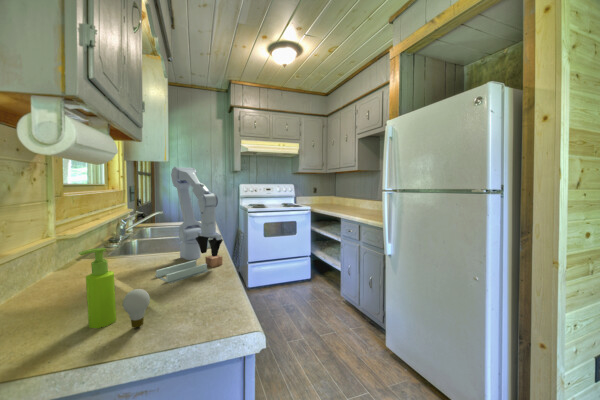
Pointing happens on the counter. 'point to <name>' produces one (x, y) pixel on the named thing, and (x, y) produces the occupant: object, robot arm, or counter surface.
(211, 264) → the cube
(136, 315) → the light bulb
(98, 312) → the soap dispenser
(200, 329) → the counter surface
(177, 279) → the channel
